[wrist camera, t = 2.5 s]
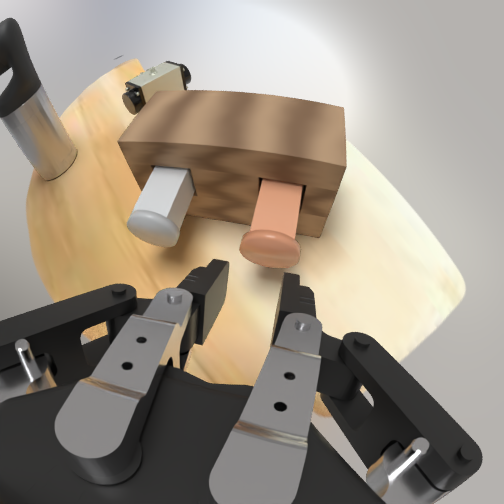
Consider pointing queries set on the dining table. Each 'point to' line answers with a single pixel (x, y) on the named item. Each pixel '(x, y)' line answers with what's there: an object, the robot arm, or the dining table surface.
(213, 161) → the socket block
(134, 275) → the dining table surface
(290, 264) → the terracotta plug
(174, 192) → the grey plug
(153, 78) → the pneumatic valve
